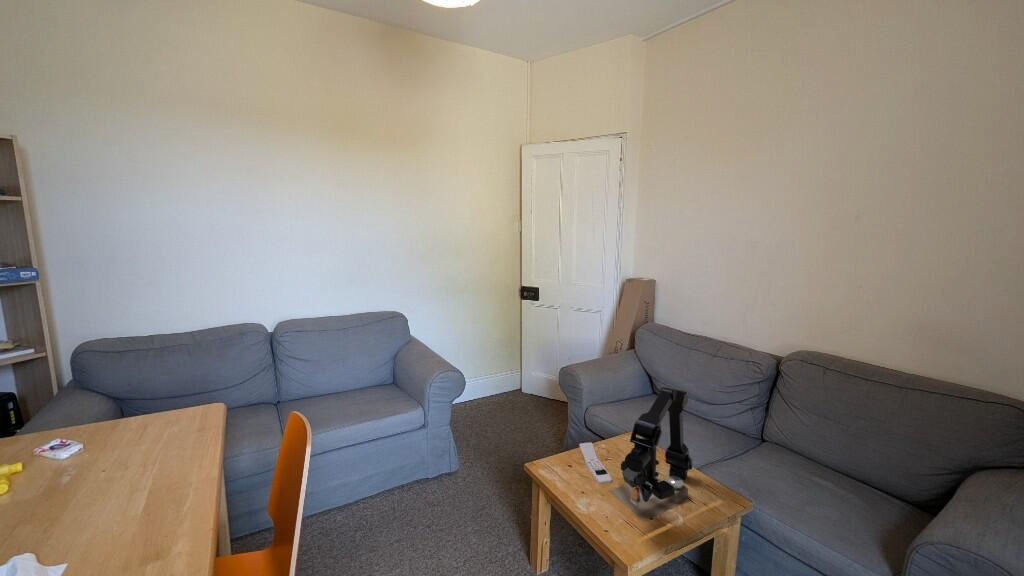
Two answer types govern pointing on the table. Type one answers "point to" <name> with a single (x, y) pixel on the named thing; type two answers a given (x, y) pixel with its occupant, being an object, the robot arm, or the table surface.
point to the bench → (650, 501)
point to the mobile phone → (594, 463)
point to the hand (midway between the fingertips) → (645, 501)
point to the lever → (637, 496)
